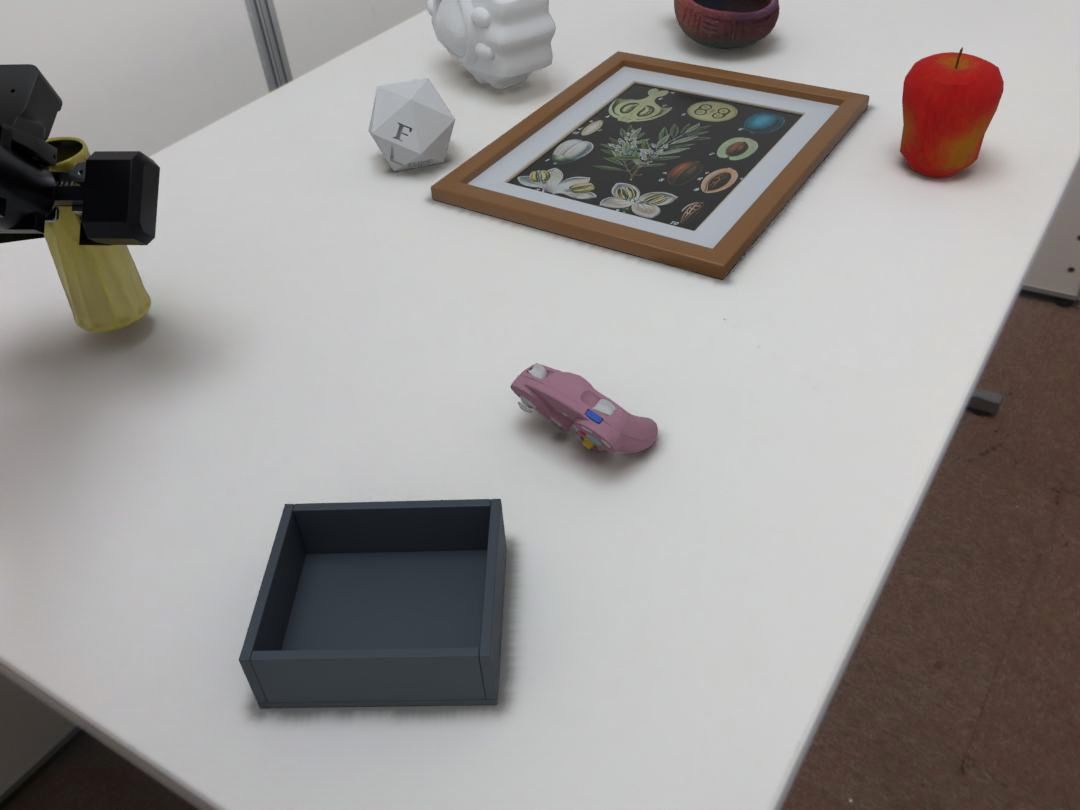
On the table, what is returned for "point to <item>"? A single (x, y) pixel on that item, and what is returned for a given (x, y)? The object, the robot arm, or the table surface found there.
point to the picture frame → (658, 159)
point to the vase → (92, 262)
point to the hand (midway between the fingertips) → (92, 229)
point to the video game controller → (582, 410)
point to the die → (411, 124)
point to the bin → (380, 606)
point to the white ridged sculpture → (495, 37)
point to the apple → (948, 111)
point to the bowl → (726, 21)
